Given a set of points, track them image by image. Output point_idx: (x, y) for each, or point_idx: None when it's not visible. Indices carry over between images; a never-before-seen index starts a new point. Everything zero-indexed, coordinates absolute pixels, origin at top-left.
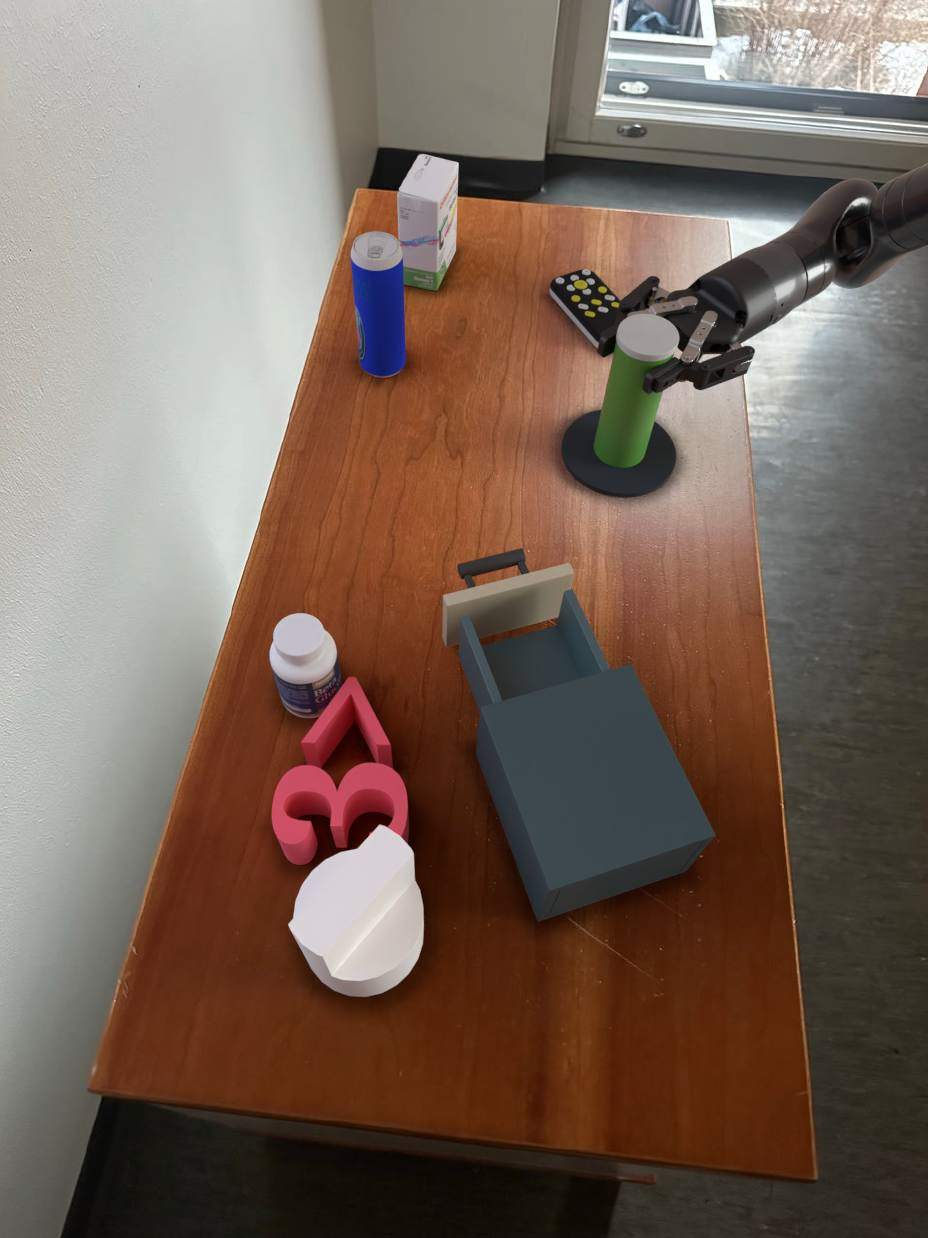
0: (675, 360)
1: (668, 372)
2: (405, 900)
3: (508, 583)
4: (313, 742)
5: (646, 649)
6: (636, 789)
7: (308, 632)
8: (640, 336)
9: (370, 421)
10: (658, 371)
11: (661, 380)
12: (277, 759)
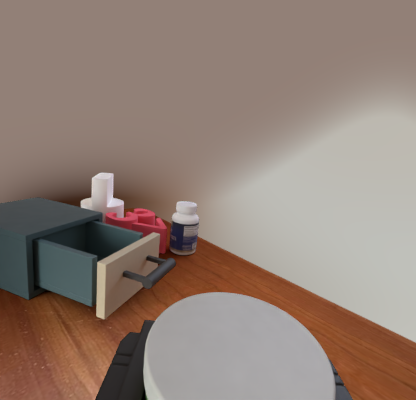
0: (128, 392)
1: (125, 364)
2: (91, 204)
3: (134, 245)
4: (156, 218)
5: (8, 345)
6: (5, 212)
7: (184, 204)
8: (238, 323)
9: (364, 351)
10: (144, 335)
11: (126, 336)
12: (169, 238)
